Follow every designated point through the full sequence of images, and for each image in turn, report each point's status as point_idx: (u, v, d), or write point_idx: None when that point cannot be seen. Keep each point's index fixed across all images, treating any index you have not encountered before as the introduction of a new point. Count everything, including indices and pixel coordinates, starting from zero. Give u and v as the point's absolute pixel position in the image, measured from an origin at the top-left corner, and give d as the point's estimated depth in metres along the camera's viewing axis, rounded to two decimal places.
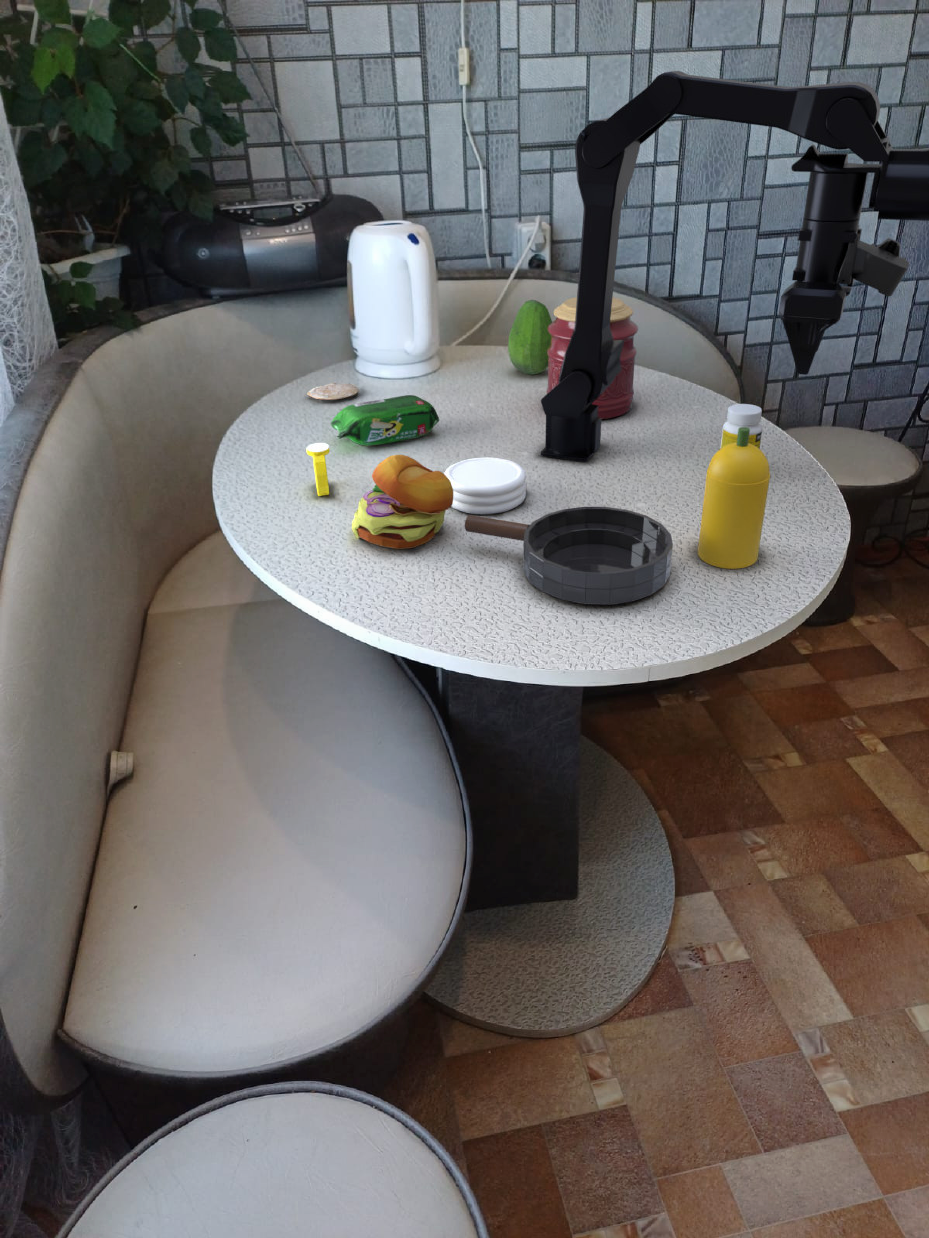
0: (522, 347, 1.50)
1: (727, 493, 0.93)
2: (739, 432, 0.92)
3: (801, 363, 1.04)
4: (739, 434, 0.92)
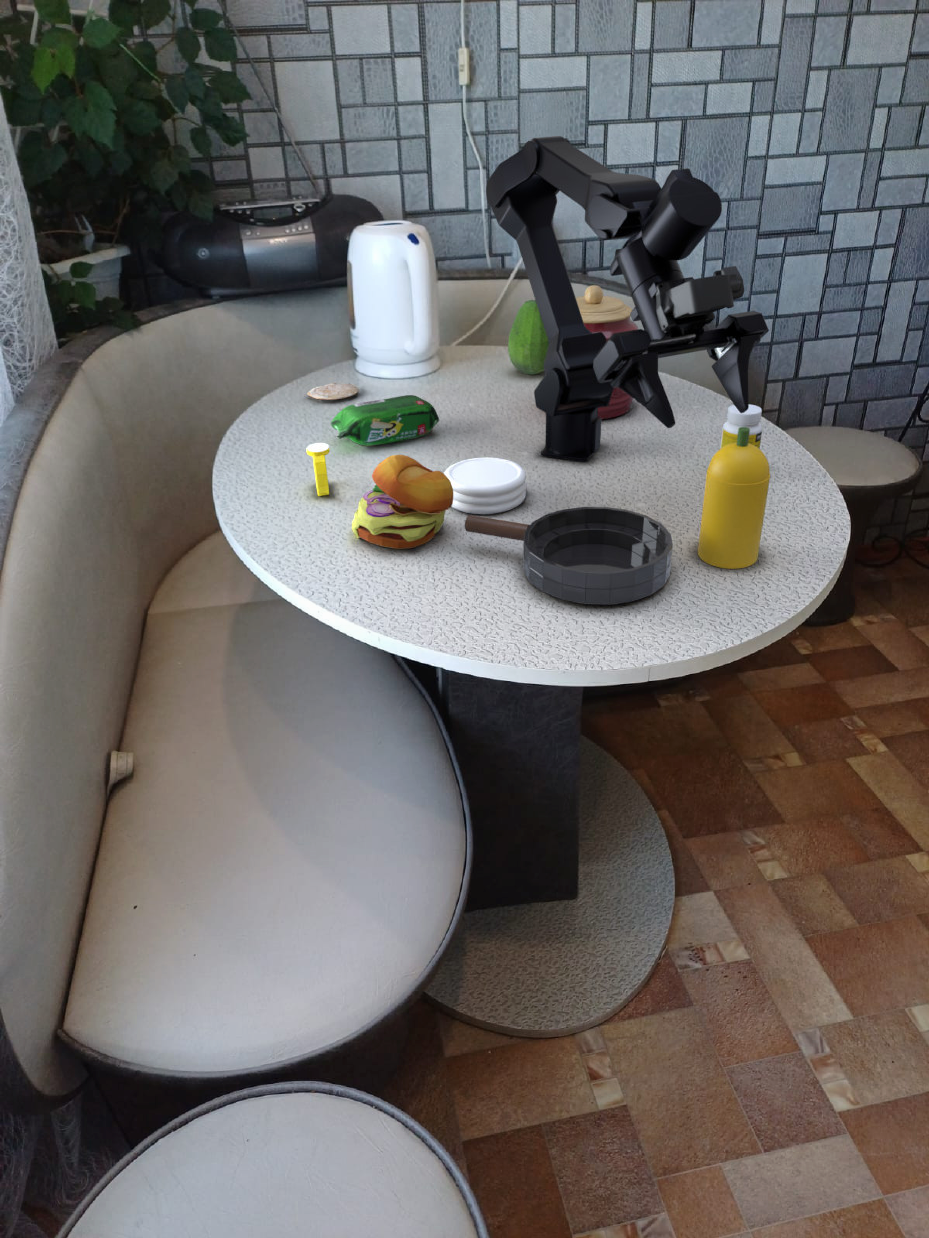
0: (522, 347, 1.50)
1: (727, 493, 0.93)
2: (739, 432, 0.92)
3: (661, 416, 0.96)
4: (739, 434, 0.92)
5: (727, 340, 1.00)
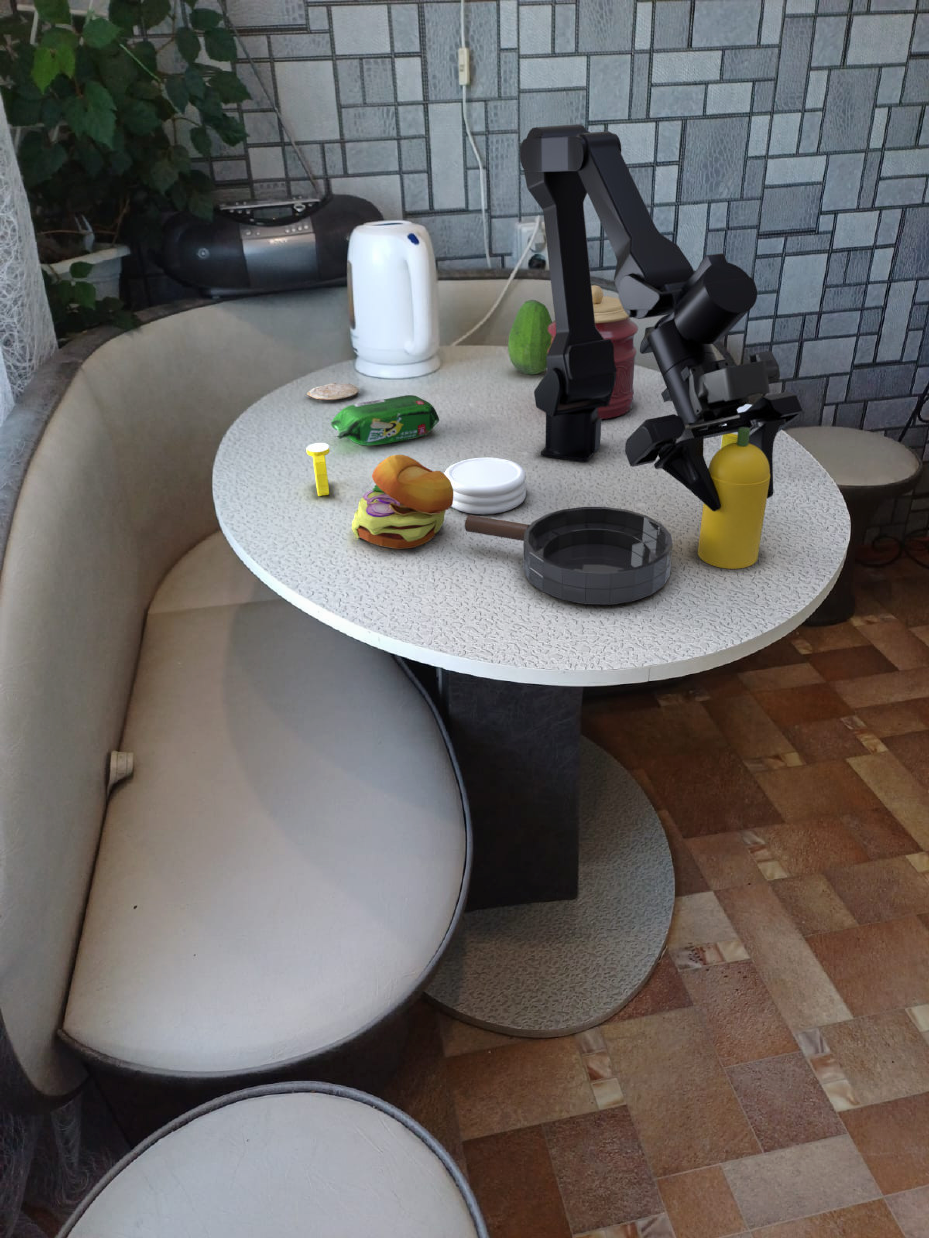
0: (522, 347, 1.50)
1: (727, 493, 0.93)
2: (739, 432, 0.92)
3: (706, 499, 0.94)
4: (739, 434, 0.92)
5: (761, 422, 0.98)
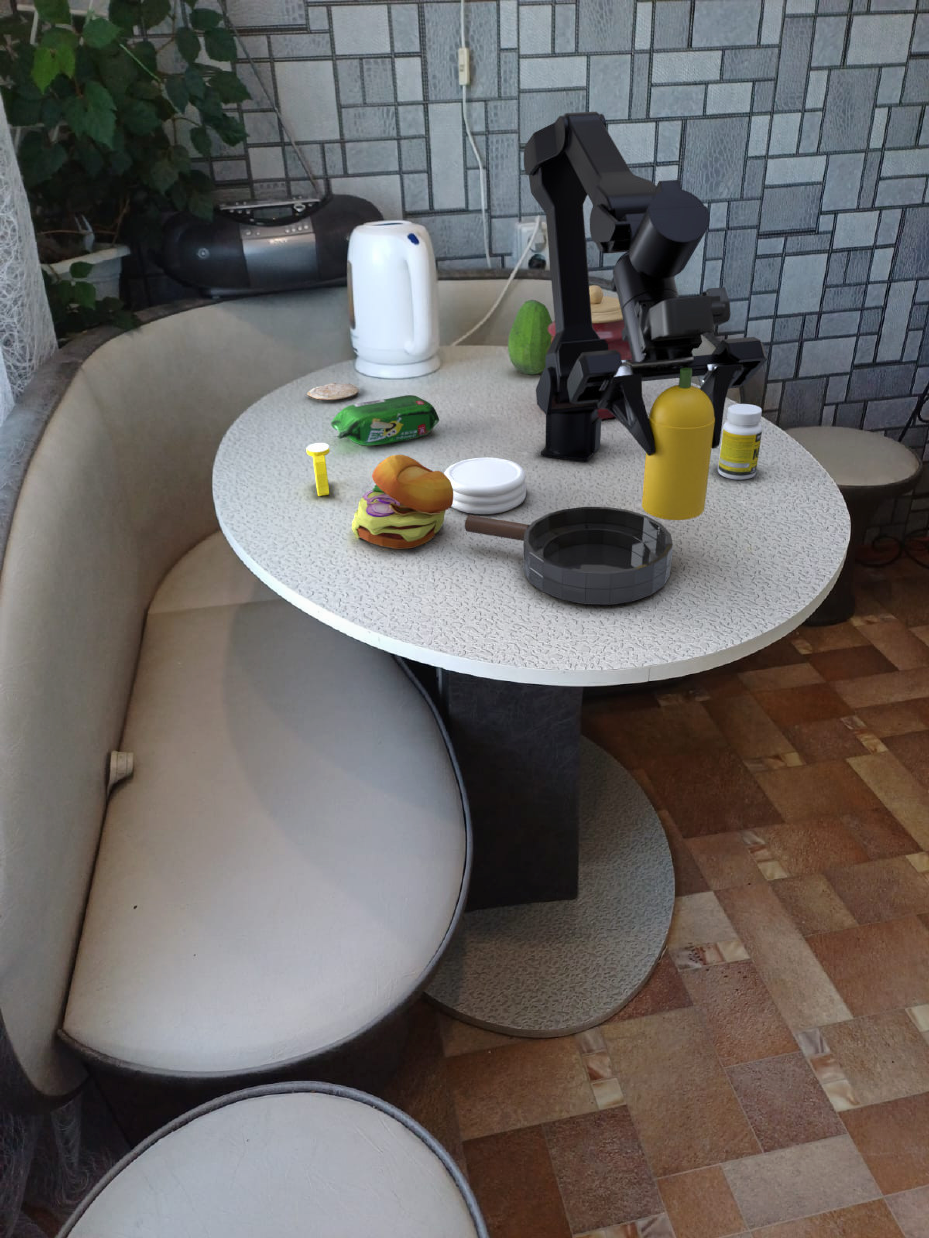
0: (522, 347, 1.50)
1: (662, 437, 0.88)
2: (680, 372, 0.87)
3: (642, 443, 0.90)
4: (680, 374, 0.87)
5: None
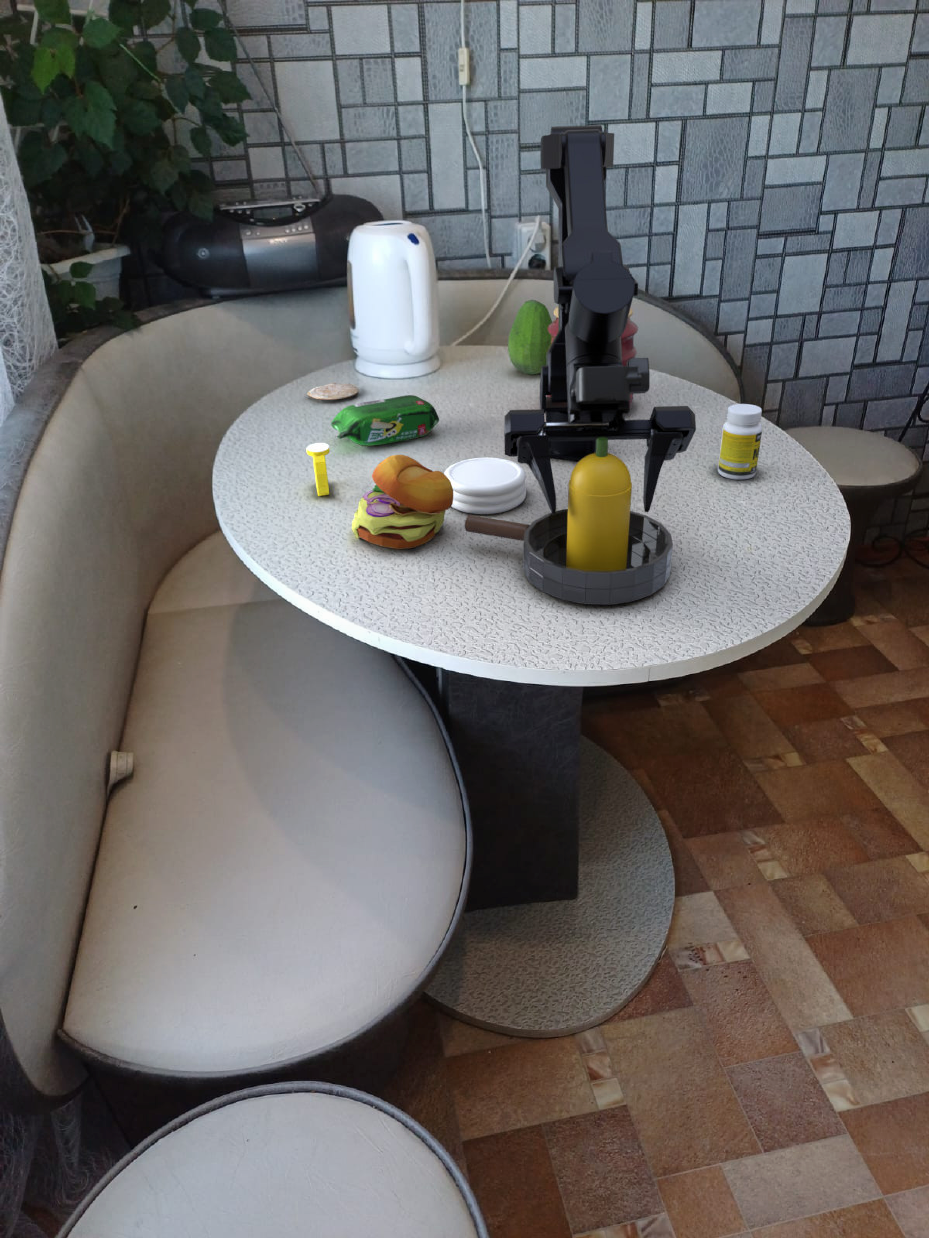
0: (522, 347, 1.50)
1: (575, 501, 0.92)
2: None
3: (547, 500, 0.93)
4: (596, 443, 0.90)
5: (651, 433, 0.93)
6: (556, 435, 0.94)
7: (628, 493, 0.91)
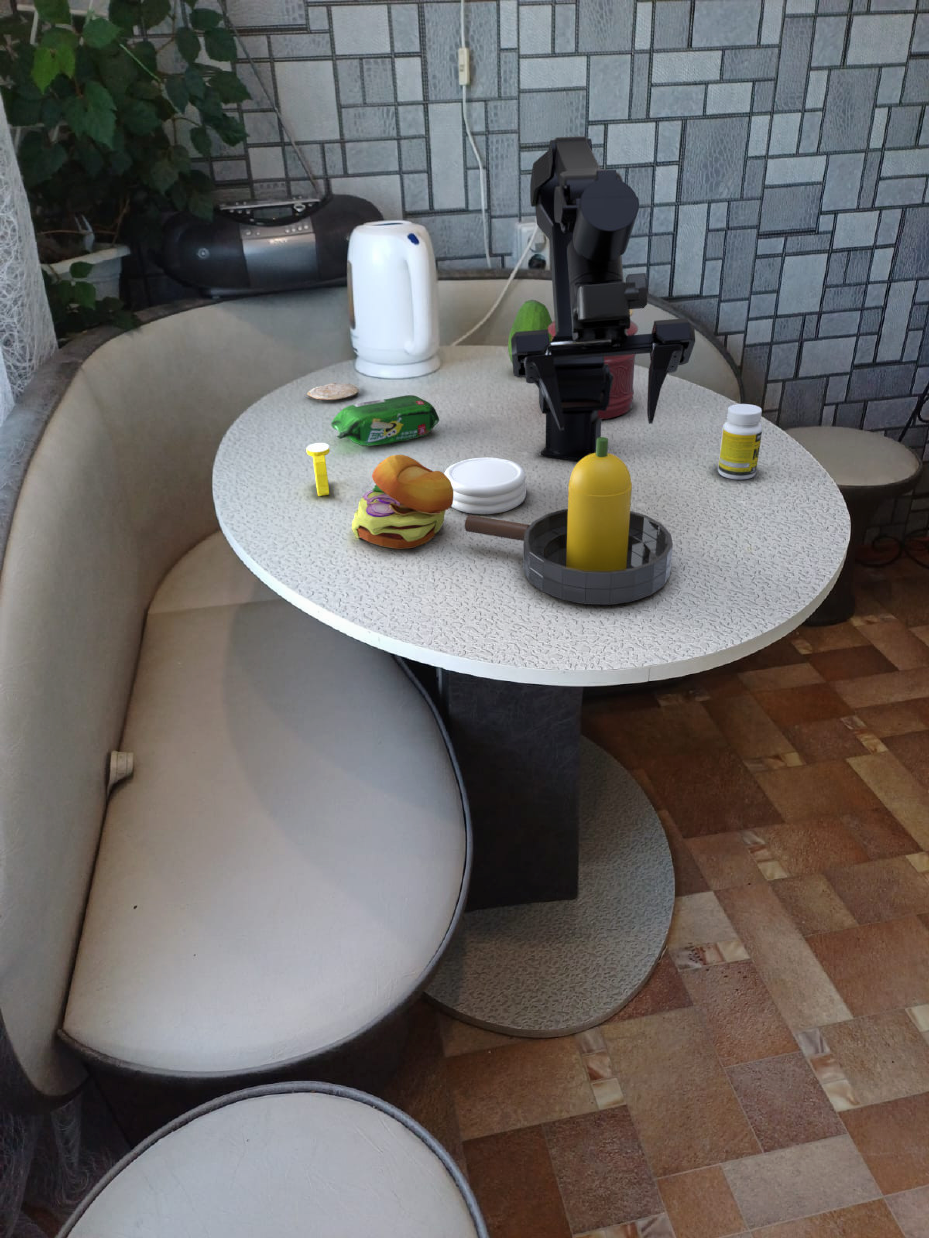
0: None
1: (575, 501, 0.92)
2: None
3: (555, 418, 0.98)
4: (596, 443, 0.90)
5: (653, 347, 0.97)
6: (561, 354, 0.98)
7: (628, 493, 0.91)
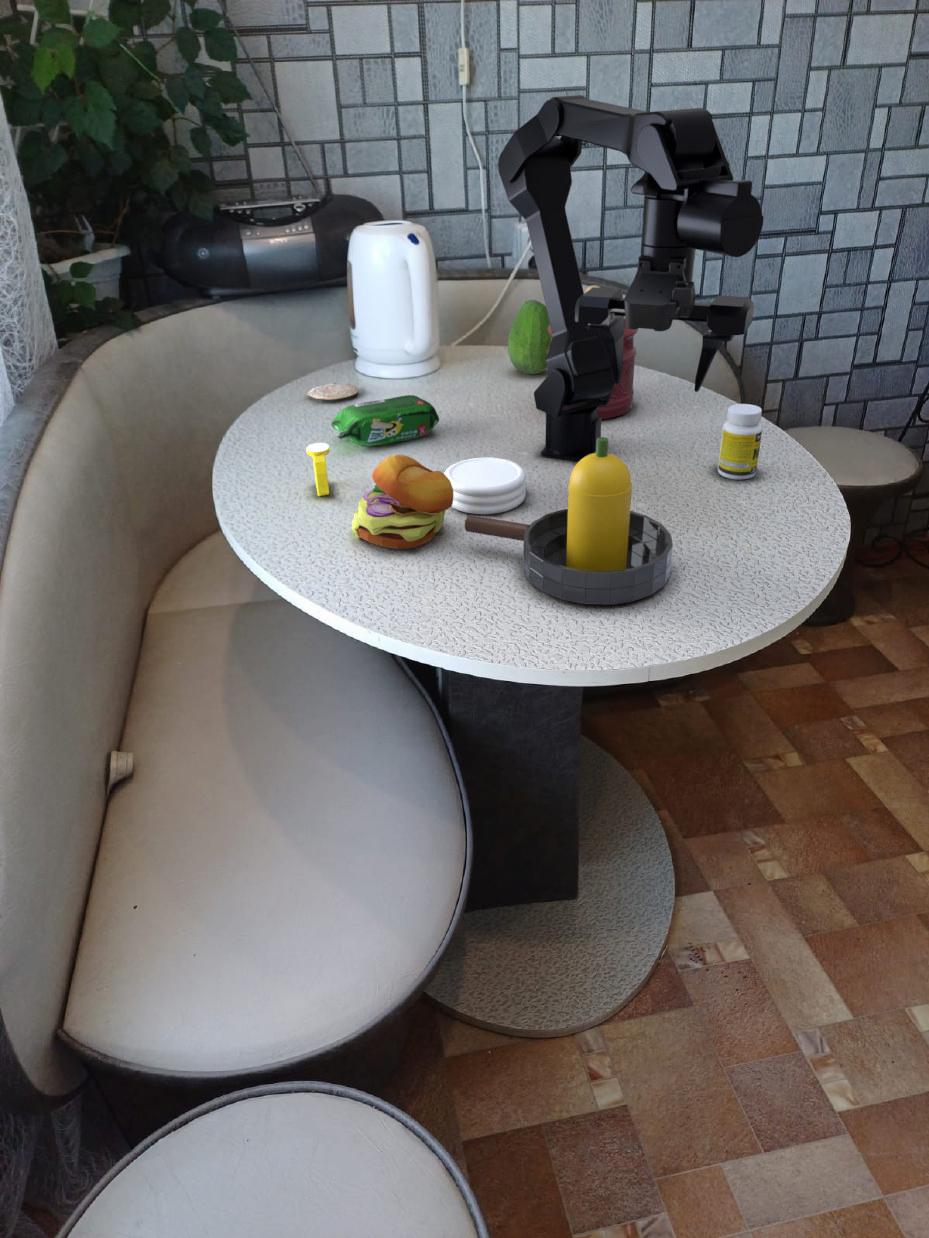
0: (522, 347, 1.50)
1: (575, 501, 0.92)
2: None
3: None
4: (596, 443, 0.90)
5: None
6: (625, 313, 1.05)
7: (628, 493, 0.91)
